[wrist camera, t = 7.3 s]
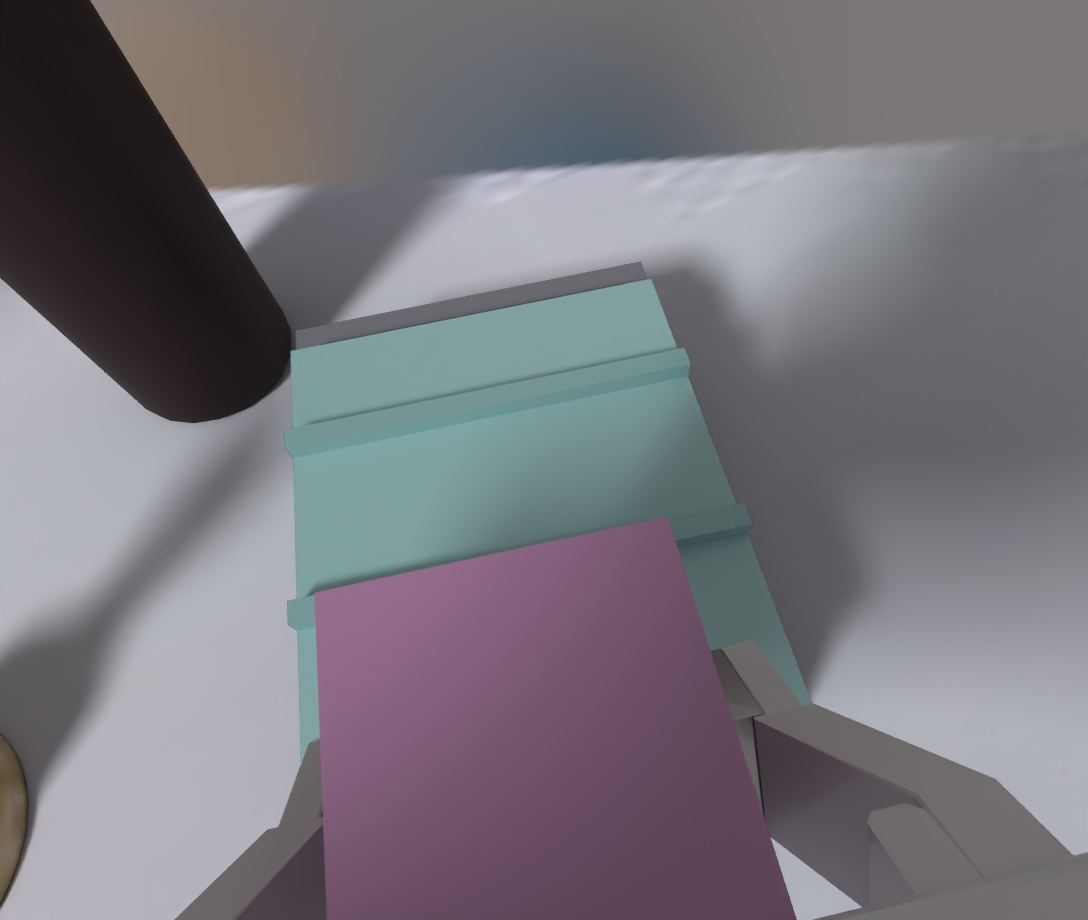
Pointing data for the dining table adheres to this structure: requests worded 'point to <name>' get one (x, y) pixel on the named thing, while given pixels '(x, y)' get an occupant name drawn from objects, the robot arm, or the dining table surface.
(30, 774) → the dining table surface
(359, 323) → the tray
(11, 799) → the hand bell
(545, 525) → the lid
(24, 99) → the bottle
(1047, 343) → the dining table surface
